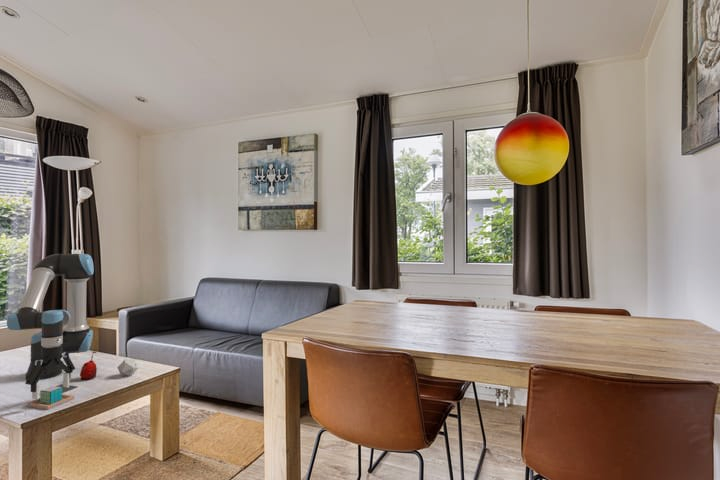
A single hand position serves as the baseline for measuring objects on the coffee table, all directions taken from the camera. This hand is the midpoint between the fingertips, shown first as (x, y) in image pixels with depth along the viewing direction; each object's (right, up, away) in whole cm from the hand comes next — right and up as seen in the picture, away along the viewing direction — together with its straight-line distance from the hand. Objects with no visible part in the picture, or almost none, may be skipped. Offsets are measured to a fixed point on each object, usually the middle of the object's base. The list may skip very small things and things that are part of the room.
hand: (51, 392), depth 175 cm
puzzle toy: (0, -4, 0) cm, 4 cm away
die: (+13, -5, +36) cm, 38 cm away
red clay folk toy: (-4, -4, +30) cm, 30 cm away
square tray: (0, -4, 0) cm, 4 cm away
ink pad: (-5, -4, +12) cm, 14 cm away
